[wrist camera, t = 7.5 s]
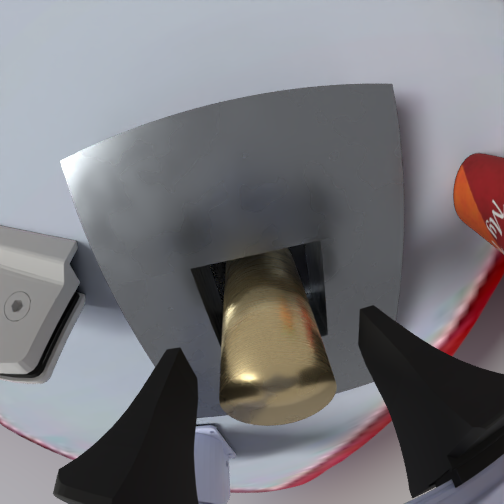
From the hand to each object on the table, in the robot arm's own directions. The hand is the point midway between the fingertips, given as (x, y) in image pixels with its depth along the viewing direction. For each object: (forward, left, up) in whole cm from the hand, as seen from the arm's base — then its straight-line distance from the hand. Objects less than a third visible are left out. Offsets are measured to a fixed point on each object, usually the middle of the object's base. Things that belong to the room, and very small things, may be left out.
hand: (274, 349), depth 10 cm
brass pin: (0, 0, -7) cm, 7 cm away
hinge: (+4, +20, -7) cm, 21 cm away
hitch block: (0, 0, -7) cm, 7 cm away
